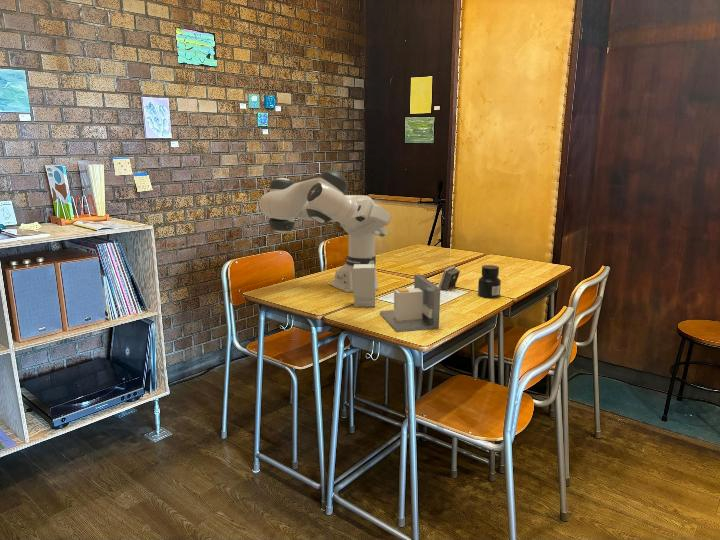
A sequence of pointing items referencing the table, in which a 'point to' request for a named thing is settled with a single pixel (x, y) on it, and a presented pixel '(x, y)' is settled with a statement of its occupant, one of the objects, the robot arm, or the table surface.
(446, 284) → the electrical switch
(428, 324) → the grey l-shaped stand
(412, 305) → the module
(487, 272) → the ink bottle
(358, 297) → the skincare box
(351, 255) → the robot arm
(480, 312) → the table surface
